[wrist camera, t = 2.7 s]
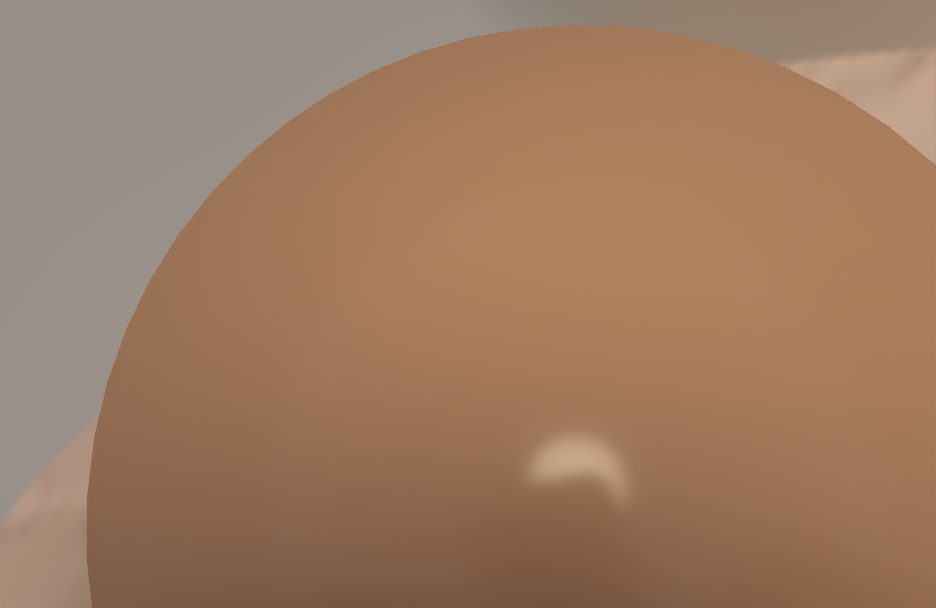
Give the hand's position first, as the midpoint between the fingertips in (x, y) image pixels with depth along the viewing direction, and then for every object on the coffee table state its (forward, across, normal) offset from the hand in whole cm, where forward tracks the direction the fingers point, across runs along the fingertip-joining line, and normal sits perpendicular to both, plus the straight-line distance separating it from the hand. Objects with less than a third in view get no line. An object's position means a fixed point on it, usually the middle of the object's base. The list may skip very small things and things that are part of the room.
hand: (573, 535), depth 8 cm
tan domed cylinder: (+6, 0, +6) cm, 8 cm away
